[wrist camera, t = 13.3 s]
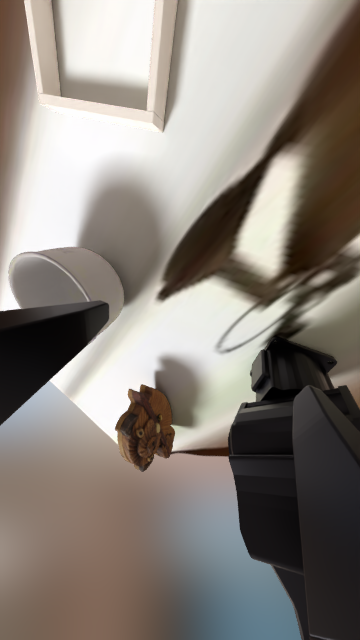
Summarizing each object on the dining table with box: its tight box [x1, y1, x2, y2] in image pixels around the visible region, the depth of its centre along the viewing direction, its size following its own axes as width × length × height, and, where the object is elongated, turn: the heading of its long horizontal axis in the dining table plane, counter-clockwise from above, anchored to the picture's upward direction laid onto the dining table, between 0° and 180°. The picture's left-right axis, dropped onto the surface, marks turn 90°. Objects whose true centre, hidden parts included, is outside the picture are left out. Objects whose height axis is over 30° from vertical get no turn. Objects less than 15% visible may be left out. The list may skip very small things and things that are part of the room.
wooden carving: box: [115, 385, 175, 472], centre depth 29 cm, size 16×5×10 cm, turn 19°
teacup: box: [8, 247, 124, 344], centre depth 23 cm, size 14×11×8 cm
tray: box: [24, 0, 178, 133], centre depth 12 cm, size 11×11×2 cm
